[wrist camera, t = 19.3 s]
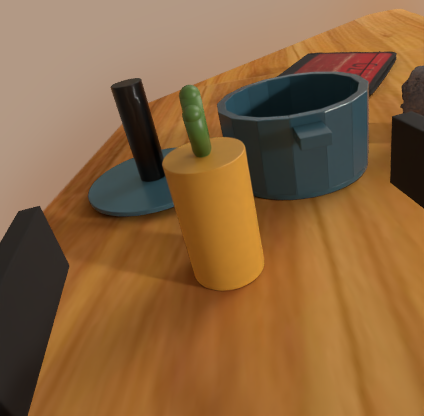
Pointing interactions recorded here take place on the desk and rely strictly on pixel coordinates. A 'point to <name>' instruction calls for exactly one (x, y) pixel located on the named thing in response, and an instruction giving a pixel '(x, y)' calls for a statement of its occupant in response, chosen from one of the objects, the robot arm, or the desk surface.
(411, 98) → the perforated stone tool
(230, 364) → the desk surface
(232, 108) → the pot
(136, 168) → the pot lid
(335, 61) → the binder
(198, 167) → the yellow cylinder green stem
